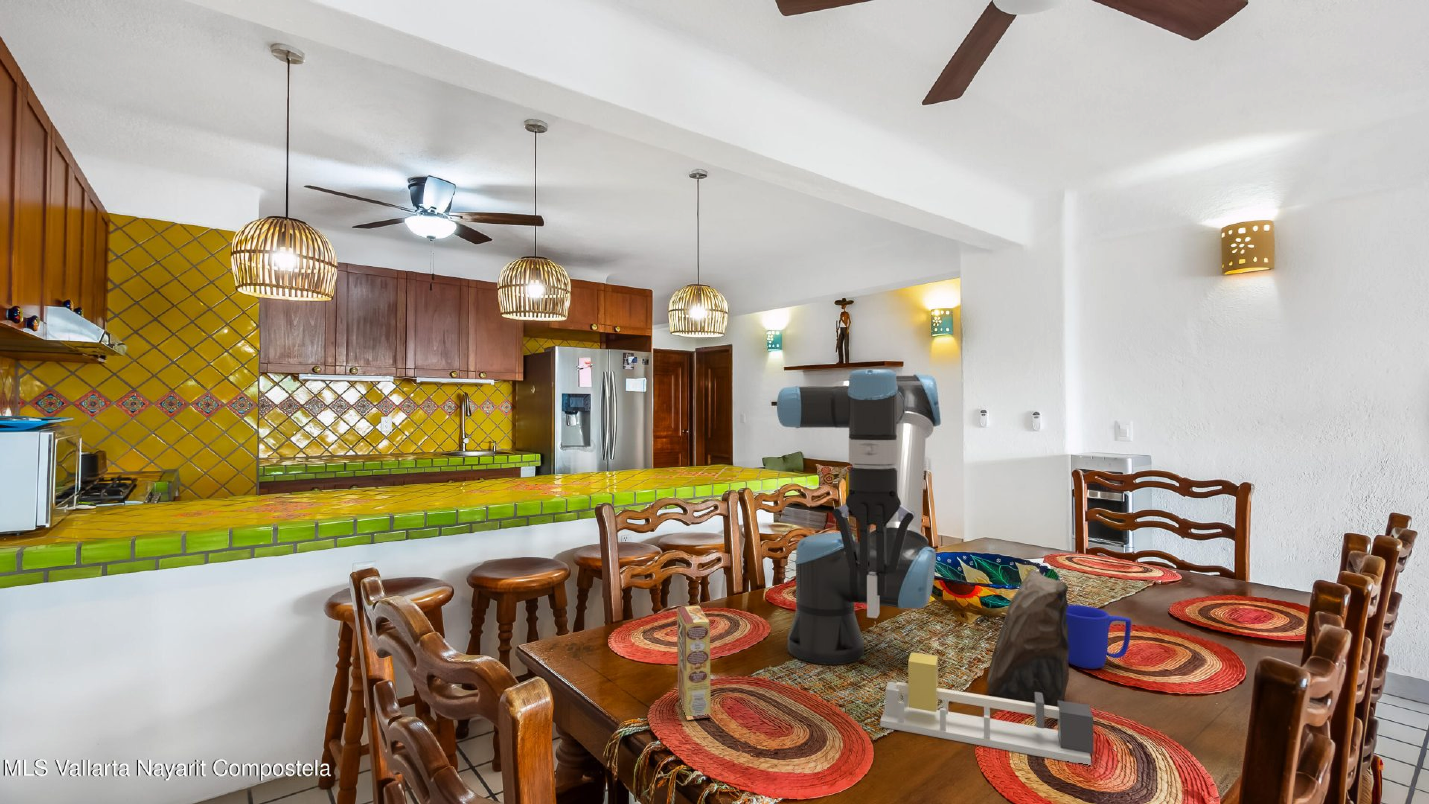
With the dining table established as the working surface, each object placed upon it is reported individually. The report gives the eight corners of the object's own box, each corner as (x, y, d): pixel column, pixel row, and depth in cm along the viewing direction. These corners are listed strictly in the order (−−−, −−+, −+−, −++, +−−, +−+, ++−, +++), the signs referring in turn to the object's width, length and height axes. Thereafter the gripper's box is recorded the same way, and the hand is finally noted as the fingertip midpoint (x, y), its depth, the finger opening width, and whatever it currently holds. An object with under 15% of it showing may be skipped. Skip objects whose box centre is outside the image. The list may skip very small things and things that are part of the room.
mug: (1140, 675, 117) (1140, 620, 117) (1068, 670, 119) (1067, 616, 119) (1121, 658, 125) (1121, 607, 125) (1054, 654, 127) (1053, 603, 127)
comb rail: (880, 726, 98) (880, 681, 98) (887, 707, 105) (886, 665, 105) (1095, 766, 87) (1094, 716, 87) (1087, 742, 93) (1087, 695, 93)
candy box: (712, 719, 101) (711, 621, 101) (685, 722, 100) (685, 623, 100) (700, 695, 109) (700, 604, 109) (675, 697, 108) (675, 606, 108)
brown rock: (1022, 674, 117) (1021, 565, 118) (1095, 700, 107) (1094, 579, 107) (982, 692, 110) (981, 575, 110) (1056, 721, 100) (1055, 592, 100)
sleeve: (908, 707, 98) (908, 661, 98) (911, 696, 102) (911, 652, 102) (936, 712, 96) (935, 665, 96) (938, 701, 100) (937, 655, 100)
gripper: (827, 466, 102) (827, 616, 101) (912, 469, 96) (913, 627, 96) (837, 463, 108) (837, 604, 108) (917, 466, 103) (918, 613, 103)
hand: (873, 615), depth 102 cm, fingers closed
